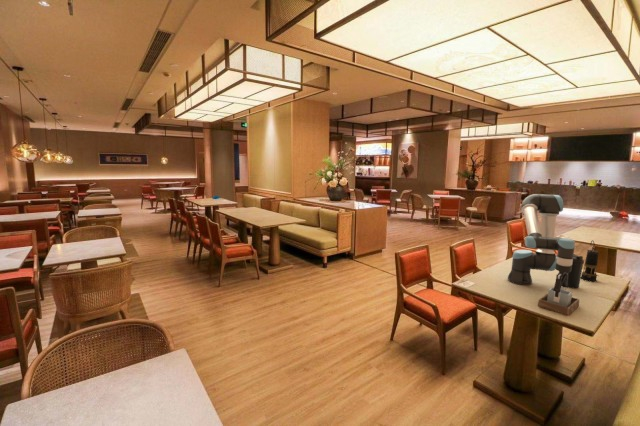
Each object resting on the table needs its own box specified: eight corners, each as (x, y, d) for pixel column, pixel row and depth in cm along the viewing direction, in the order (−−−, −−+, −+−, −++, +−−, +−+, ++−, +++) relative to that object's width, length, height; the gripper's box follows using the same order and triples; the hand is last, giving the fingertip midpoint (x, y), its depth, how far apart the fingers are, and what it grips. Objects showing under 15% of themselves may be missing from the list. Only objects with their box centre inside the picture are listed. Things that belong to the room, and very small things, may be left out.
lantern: (599, 281, 231) (605, 241, 226) (590, 282, 228) (596, 242, 223) (586, 276, 239) (591, 238, 234) (577, 278, 237) (583, 239, 232)
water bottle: (568, 282, 228) (572, 252, 224) (583, 288, 218) (588, 256, 214) (558, 284, 224) (562, 253, 221) (573, 289, 215) (578, 257, 211)
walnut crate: (549, 297, 202) (550, 291, 202) (578, 306, 191) (579, 299, 190) (537, 306, 190) (538, 299, 190) (568, 315, 179) (569, 308, 178)
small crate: (550, 300, 196) (552, 287, 195) (570, 306, 189) (572, 292, 187) (546, 303, 192) (548, 289, 191) (566, 309, 184) (568, 295, 183)
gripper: (562, 259, 196) (557, 292, 199) (549, 266, 182) (545, 302, 186) (577, 262, 190) (572, 296, 193) (565, 269, 176) (560, 306, 180)
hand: (559, 299), depth 190 cm, fingers open, 10 cm apart
